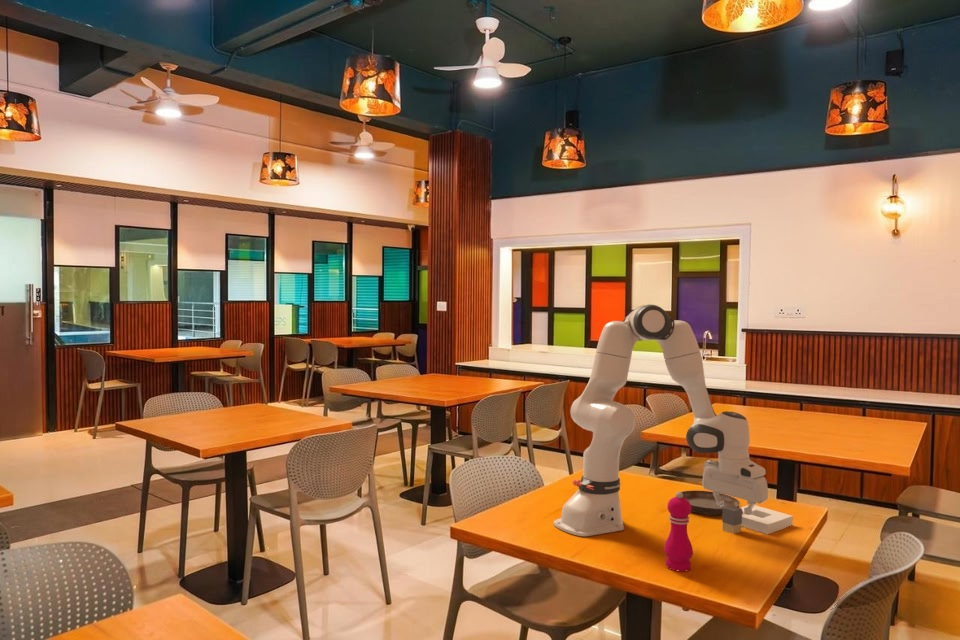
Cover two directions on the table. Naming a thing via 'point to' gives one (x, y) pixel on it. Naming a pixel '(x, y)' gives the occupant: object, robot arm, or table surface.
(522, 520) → the table surface
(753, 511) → the socket plate
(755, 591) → the table surface
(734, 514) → the plug
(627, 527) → the table surface
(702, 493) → the plant saucer
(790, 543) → the table surface
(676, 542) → the pepper mill
